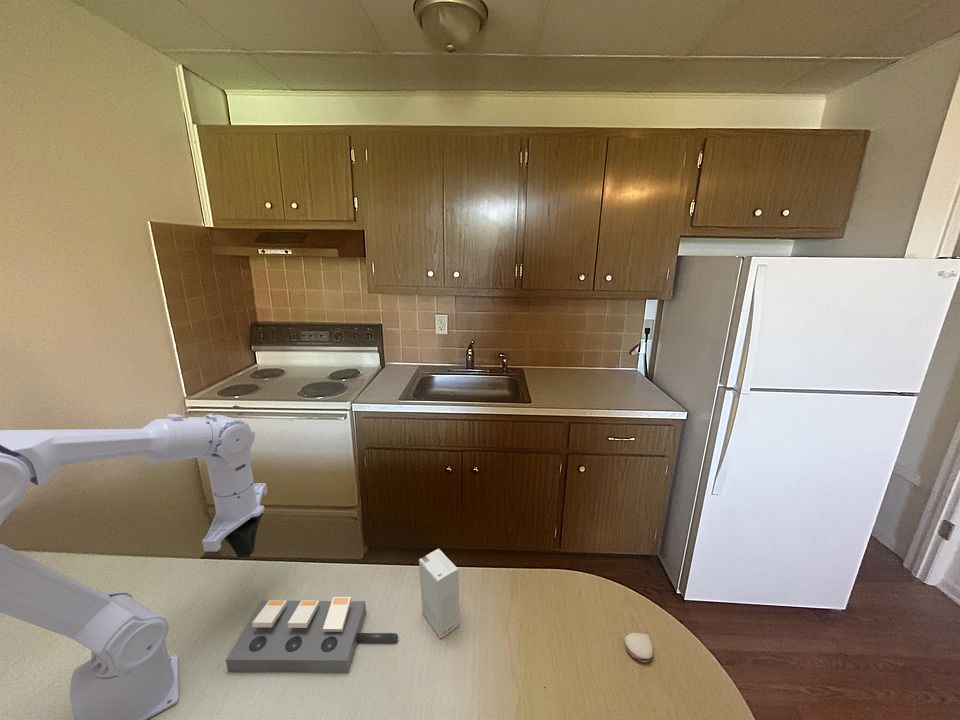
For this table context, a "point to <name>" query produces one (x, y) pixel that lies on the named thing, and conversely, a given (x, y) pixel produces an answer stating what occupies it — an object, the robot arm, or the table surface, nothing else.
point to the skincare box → (439, 592)
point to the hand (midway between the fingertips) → (245, 554)
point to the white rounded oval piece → (639, 646)
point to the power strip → (301, 643)
